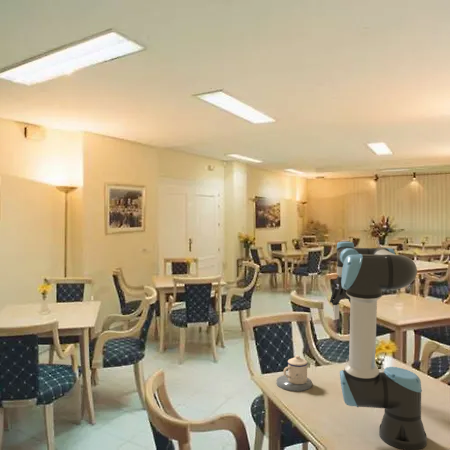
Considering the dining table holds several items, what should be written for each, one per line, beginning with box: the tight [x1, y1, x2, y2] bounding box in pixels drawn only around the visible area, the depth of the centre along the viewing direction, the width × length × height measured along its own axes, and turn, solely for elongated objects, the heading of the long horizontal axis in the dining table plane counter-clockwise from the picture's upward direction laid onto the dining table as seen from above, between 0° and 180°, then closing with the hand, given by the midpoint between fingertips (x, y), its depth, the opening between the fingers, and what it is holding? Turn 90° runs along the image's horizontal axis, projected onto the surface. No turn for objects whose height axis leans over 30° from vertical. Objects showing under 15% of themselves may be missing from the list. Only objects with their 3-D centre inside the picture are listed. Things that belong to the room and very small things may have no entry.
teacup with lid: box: [282, 354, 309, 384], centre depth 188 cm, size 12×9×12 cm
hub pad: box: [276, 374, 313, 392], centre depth 188 cm, size 16×16×1 cm
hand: (345, 322), depth 186 cm, fingers open, 13 cm apart
